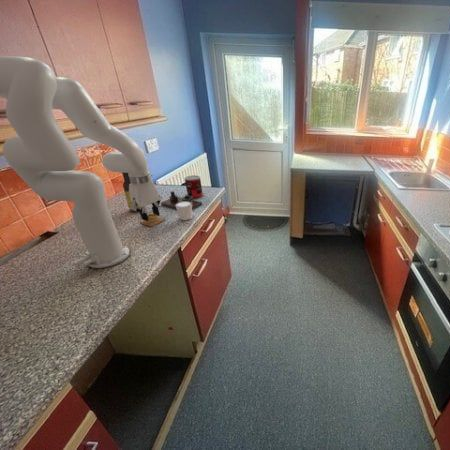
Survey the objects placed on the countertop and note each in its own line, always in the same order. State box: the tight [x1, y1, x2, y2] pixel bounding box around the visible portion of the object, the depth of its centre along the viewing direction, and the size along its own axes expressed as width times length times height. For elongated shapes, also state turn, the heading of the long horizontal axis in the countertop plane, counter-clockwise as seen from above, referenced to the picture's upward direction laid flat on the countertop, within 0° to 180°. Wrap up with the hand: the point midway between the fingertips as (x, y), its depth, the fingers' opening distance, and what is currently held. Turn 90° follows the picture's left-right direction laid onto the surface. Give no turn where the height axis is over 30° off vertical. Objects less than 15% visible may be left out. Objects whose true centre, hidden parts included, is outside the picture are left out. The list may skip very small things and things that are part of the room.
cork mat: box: [140, 216, 165, 227], centre depth 114 cm, size 7×7×1 cm
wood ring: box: [181, 196, 194, 202], centre depth 127 cm, size 5×5×1 cm
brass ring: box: [147, 212, 159, 220], centre depth 112 cm, size 5×5×1 cm
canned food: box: [184, 174, 204, 199], centre depth 140 cm, size 8×8×11 cm
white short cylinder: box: [175, 201, 193, 221], centre depth 117 cm, size 7×7×7 cm
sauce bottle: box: [121, 173, 138, 213], centre depth 120 cm, size 6×6×20 cm
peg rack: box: [160, 190, 203, 211], centre depth 130 cm, size 10×18×6 cm, turn 67°
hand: (151, 217), depth 112 cm, fingers closed on brass ring, 5 cm apart
